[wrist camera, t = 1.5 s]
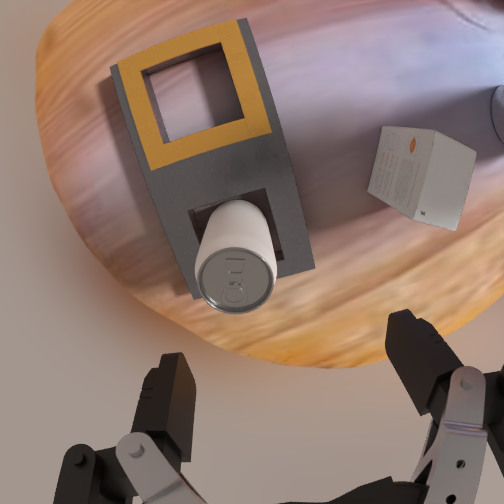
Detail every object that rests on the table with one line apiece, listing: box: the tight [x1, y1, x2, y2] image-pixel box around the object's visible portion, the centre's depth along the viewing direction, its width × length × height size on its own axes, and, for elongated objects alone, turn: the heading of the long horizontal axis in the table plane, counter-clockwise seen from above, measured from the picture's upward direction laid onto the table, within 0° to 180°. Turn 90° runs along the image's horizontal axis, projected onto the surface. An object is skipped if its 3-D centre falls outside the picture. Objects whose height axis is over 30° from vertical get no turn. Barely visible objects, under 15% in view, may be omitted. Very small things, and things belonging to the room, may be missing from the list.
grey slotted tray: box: [110, 18, 315, 300], centre depth 28 cm, size 27×14×3 cm, turn 16°
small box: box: [367, 126, 477, 231], centre depth 25 cm, size 8×6×10 cm
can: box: [195, 200, 277, 314], centre depth 27 cm, size 6×6×12 cm
